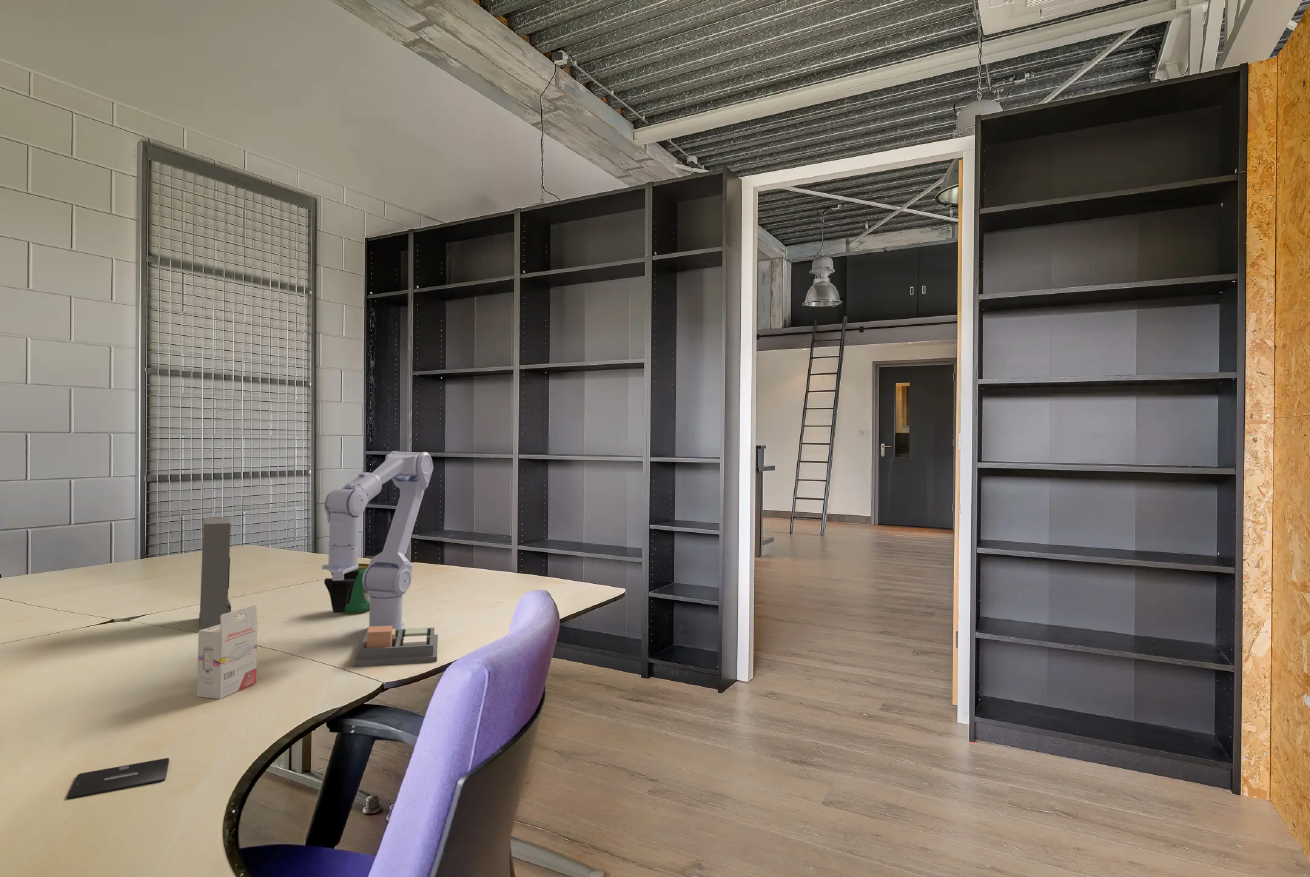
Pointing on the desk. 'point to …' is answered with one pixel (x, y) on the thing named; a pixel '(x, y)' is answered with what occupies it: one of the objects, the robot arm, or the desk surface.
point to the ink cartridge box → (228, 654)
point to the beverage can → (358, 595)
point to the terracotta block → (379, 636)
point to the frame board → (401, 648)
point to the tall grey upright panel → (215, 571)
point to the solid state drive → (119, 778)
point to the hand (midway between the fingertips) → (341, 607)
